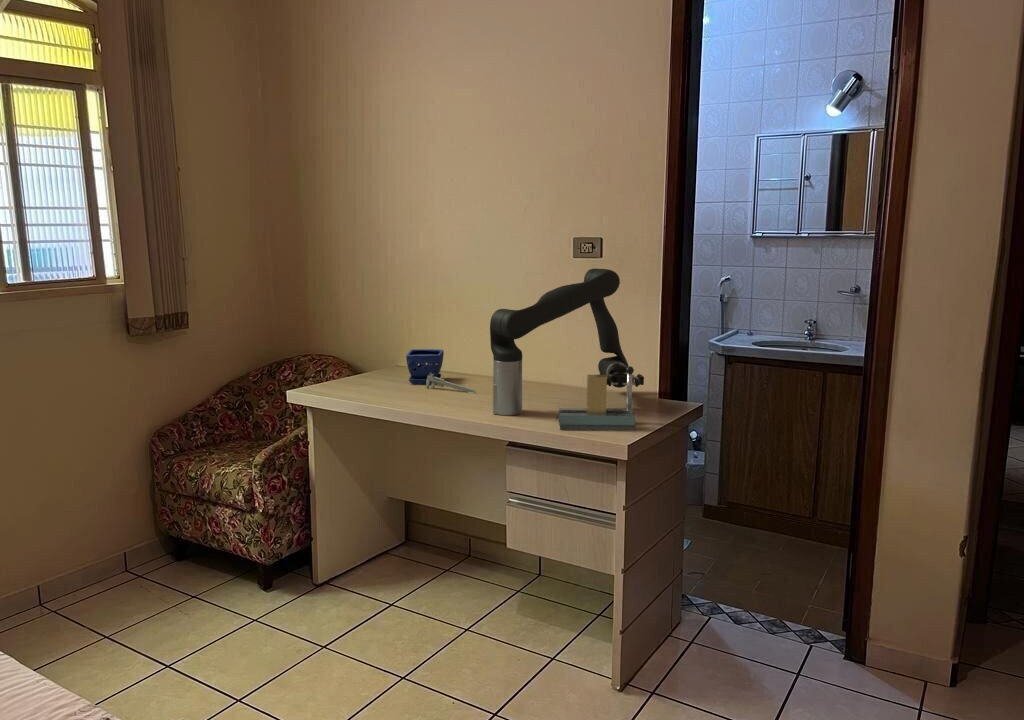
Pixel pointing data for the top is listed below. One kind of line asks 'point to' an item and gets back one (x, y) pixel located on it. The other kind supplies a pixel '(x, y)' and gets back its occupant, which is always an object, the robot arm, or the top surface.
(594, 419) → the vise
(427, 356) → the flower pot
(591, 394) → the block
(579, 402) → the top surface
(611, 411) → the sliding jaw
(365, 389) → the top surface
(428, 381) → the caliper
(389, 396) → the top surface
